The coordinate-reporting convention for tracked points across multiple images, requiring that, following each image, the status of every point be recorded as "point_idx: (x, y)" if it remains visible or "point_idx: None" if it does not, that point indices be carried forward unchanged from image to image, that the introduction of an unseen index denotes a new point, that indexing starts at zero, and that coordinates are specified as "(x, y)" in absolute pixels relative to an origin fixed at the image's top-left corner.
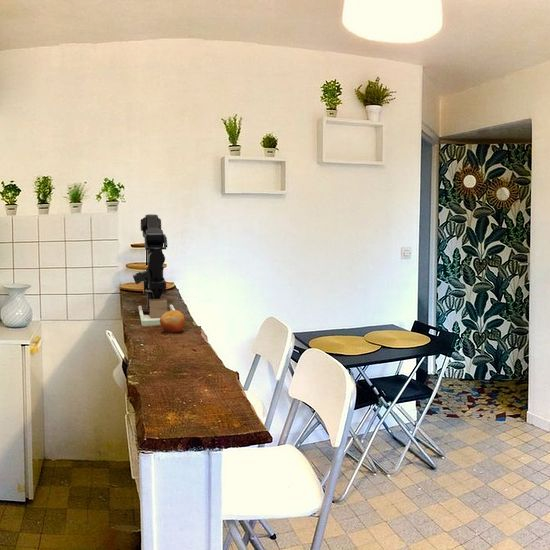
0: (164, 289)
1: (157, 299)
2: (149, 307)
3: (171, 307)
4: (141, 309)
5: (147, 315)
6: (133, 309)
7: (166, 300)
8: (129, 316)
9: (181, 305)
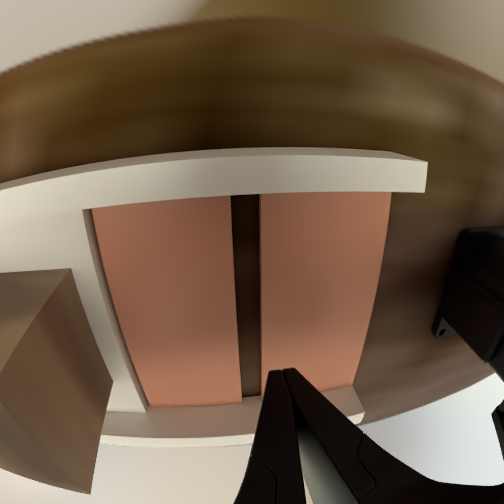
0: (500, 438)
1: (23, 449)
2: (21, 316)
3: (234, 436)
4: (159, 192)
5: (62, 249)
6: (491, 129)
7: (8, 470)
8: (166, 47)
9: (448, 394)
